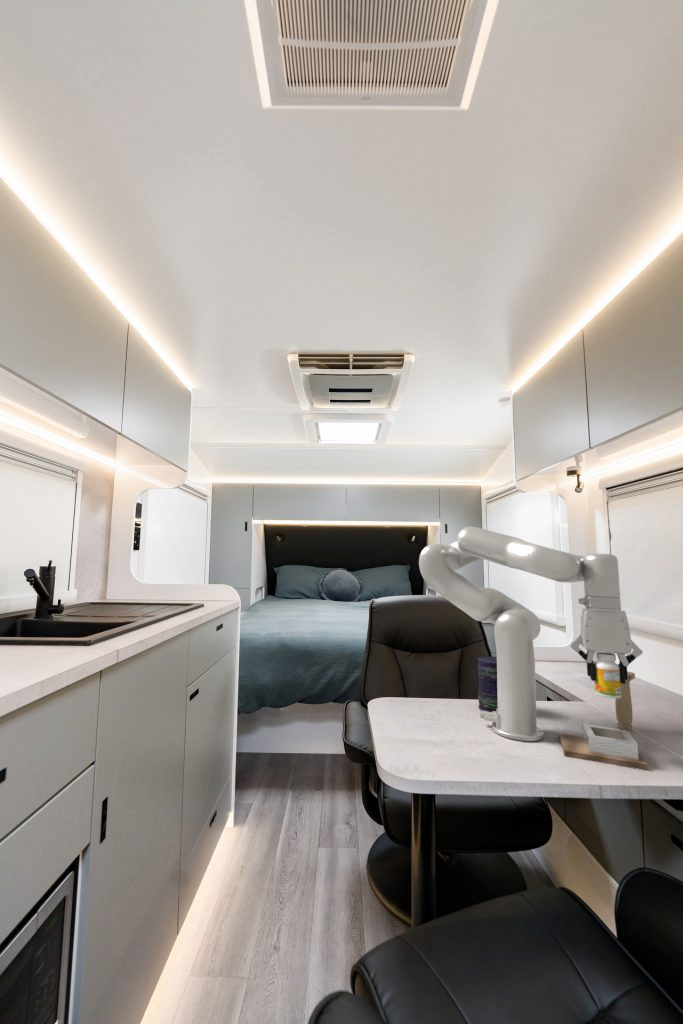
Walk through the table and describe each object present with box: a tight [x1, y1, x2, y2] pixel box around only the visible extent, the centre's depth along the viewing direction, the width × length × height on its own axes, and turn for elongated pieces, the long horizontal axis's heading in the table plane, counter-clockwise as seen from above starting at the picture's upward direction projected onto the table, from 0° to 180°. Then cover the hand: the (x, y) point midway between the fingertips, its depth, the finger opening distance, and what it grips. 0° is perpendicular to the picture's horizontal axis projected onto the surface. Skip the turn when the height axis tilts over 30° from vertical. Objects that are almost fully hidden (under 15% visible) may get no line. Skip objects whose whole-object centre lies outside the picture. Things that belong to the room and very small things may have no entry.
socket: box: [581, 723, 639, 761], centre depth 100 cm, size 10×10×4 cm
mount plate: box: [558, 732, 648, 771], centre depth 101 cm, size 16×12×1 cm
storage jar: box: [477, 655, 498, 712], centre depth 132 cm, size 10×10×15 cm
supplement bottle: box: [593, 652, 621, 699], centre depth 102 cm, size 5×5×10 cm
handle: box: [614, 670, 636, 731], centre depth 119 cm, size 5×6×15 cm
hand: (607, 680), depth 102 cm, fingers closed on supplement bottle, 5 cm apart
